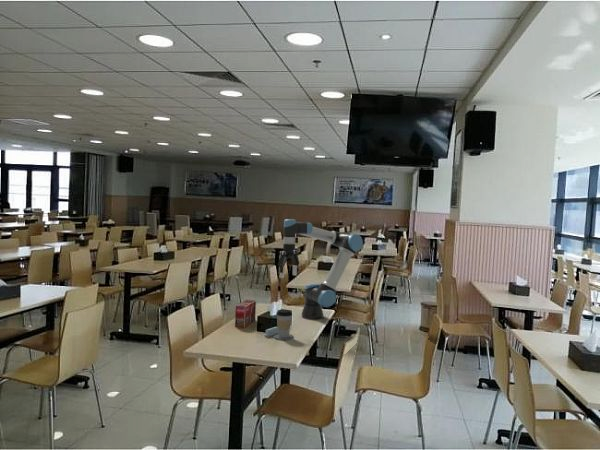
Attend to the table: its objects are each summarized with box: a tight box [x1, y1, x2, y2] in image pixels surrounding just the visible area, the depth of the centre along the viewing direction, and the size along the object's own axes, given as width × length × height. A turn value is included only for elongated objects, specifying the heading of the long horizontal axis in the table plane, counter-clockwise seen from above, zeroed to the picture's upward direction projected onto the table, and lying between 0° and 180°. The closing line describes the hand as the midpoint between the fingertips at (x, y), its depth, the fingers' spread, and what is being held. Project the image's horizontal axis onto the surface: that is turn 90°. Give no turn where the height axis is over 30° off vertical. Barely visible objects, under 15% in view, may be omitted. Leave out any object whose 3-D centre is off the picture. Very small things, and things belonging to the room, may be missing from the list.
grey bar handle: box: [263, 326, 278, 338], centre depth 281 cm, size 16×3×4 cm, turn 145°
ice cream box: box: [234, 299, 257, 329], centre depth 302 cm, size 20×6×13 cm, turn 166°
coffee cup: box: [275, 309, 293, 338], centre depth 274 cm, size 9×9×15 cm
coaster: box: [272, 333, 294, 341], centre depth 274 cm, size 12×12×1 cm
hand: (288, 276), depth 300 cm, fingers open, 13 cm apart
